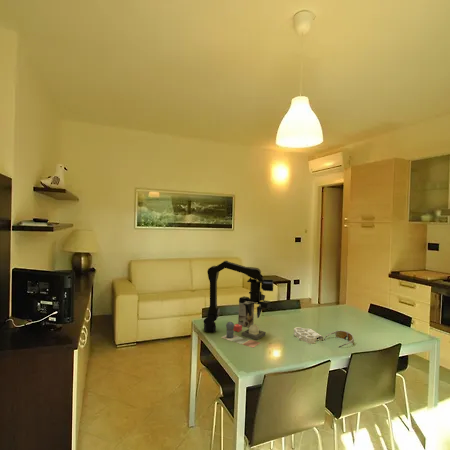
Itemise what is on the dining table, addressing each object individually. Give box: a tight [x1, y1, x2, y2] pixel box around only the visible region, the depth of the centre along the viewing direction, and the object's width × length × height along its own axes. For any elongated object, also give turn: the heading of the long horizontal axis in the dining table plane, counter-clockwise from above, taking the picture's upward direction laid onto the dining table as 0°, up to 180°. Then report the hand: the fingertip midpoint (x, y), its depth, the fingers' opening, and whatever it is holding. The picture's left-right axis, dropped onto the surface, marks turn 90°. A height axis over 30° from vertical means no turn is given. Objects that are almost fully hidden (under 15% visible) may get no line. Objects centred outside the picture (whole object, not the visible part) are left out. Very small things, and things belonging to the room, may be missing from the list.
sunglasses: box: [322, 330, 355, 348], centre depth 177 cm, size 14×15×5 cm
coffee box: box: [237, 301, 255, 329], centre depth 198 cm, size 9×6×16 cm
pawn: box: [225, 321, 235, 338], centre depth 175 cm, size 5×5×9 cm
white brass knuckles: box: [293, 326, 324, 345], centre depth 182 cm, size 3×18×15 cm
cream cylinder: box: [248, 324, 260, 335], centre depth 179 cm, size 6×6×6 cm
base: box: [241, 328, 266, 341], centre depth 179 cm, size 10×10×3 cm
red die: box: [234, 323, 243, 333], centre depth 187 cm, size 4×4×4 cm
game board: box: [220, 334, 261, 348], centre depth 171 cm, size 22×10×1 cm, turn 54°
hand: (254, 316), depth 179 cm, fingers open, 5 cm apart
